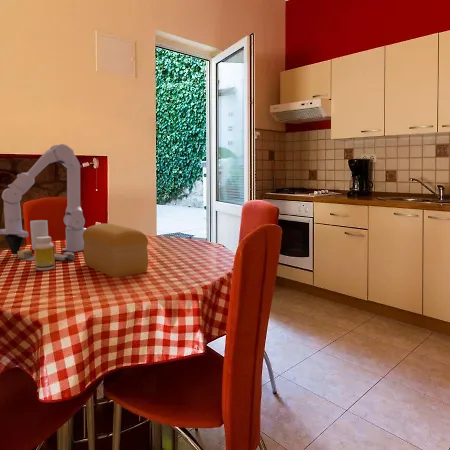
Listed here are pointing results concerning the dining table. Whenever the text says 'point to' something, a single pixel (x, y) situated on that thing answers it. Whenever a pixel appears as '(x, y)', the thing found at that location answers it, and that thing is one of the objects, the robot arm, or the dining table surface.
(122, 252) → the bread
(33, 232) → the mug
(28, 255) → the block
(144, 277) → the dining table surface
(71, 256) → the dark-tipped long bar
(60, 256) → the tong arm
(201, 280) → the dining table surface
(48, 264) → the pill bottle
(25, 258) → the plate
